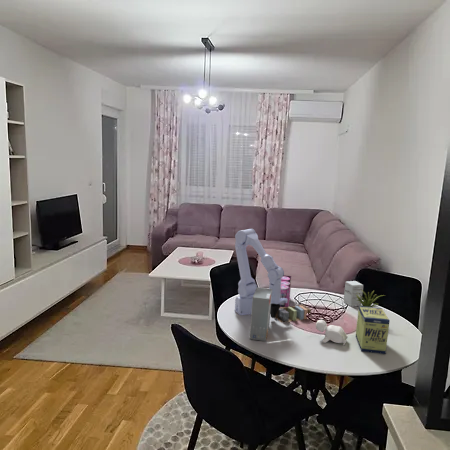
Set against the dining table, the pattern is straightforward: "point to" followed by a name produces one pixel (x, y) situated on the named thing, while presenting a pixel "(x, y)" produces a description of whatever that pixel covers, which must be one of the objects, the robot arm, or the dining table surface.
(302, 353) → the dining table surface
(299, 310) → the blue book
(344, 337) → the white animal figurine
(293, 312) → the olive book
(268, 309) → the hard drive box
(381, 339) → the protein box
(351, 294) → the supplement box
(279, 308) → the shelf
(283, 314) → the bookend
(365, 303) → the house plant
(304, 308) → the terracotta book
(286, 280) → the gum box
